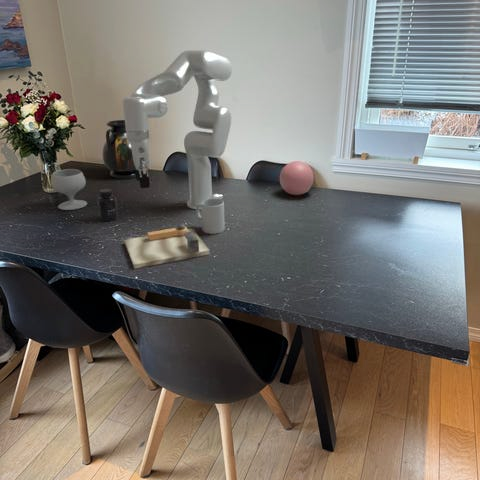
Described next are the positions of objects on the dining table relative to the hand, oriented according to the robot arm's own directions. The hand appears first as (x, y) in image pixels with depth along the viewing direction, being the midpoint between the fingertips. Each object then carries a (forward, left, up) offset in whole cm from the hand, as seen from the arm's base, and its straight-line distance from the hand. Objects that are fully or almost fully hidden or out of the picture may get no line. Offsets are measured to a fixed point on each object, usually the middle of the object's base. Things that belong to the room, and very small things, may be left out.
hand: (143, 183), depth 152 cm
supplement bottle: (+12, -20, -19) cm, 30 cm away
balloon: (-73, -17, -19) cm, 78 cm away
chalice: (+25, -42, -19) cm, 52 cm away
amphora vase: (-4, -80, -19) cm, 82 cm away
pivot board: (-3, +17, -19) cm, 25 cm away
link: (-5, +10, -17) cm, 21 cm away
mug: (-22, +6, -19) cm, 30 cm away
